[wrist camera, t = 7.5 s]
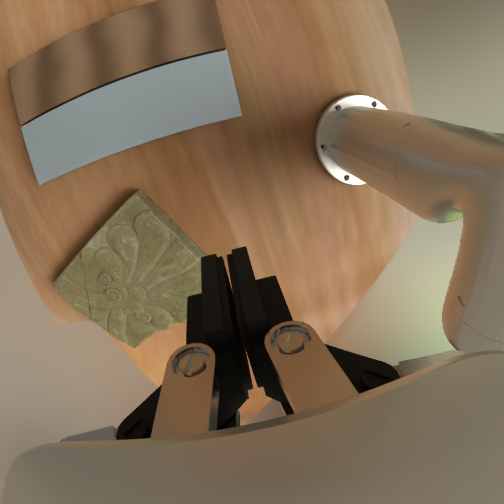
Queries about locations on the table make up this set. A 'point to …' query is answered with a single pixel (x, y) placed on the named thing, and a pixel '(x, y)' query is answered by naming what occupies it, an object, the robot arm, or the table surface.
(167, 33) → the walnut plank
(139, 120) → the grey-blue plank
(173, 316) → the decorative tile
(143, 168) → the table surface
